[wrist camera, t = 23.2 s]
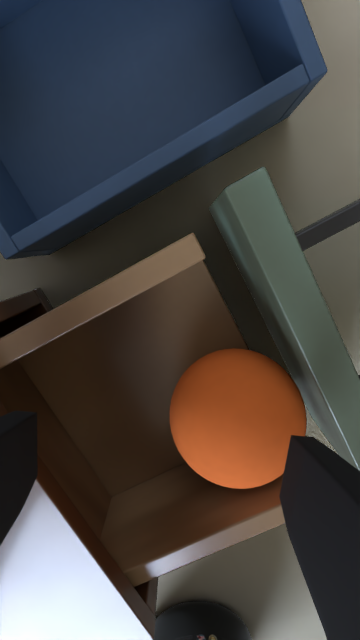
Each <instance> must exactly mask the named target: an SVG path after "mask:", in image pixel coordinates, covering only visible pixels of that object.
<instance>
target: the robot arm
mask: <svg viewBox="0 0 360 640" xmlns="http://www.w3.org/2000/svg"><path fill="white" fill-rule="evenodd" d="M37 476H38V463H37V412H26V411H13V412H11V413H8V414H6V415H3V416H1V417H0V545H1V544H2V542H3V541H4V539H5V537H6V536H7V534H8V532H9V531H10V529H11V527H12V526H13V524H14V522H15V521H16V519H17V517H18V516H19V514H20V512H21V511H22V509H23V506H24V504H25V502H26V500H27V498H28V496H29V494H30V491H31V489H32V487H33V485H34V482H35V480H36V478H37ZM279 497H280V502H281V506H282V511H283V515H284V519H285V523H286V527H287V531H288V534H289V537H290V540H291V543H292V545H293V548H294V551H295V554H296V556H297V559H298V562H299V565H300V567H301V570H302V573H303V575H304V578H305V580H306V583H307V586H308V588H309V591H310V594H311V596H312V599H313V602H314V604H315V607H316V610H317V612H318V615H319V618H320V620H321V623H322V626H323V628H324V631H325V634H326V637H327V640H360V471H359V470H358V469H356V468H355V467H354V466H352V465H351V464H350V463H348V462H347V461H346V460H344V459H343V458H342V457H340V456H339V455H338V454H336V453H335V452H334V451H332V450H331V449H330V448H328V447H327V446H325V445H324V444H323V443H321V442H320V441H318V440H316V439H315V438H313V437H307V436H296V435H291V438H290V443H289V448H288V453H287V458H286V464H285V469H284V474H283V479H282V485H281V490H280V495H279Z"/></svg>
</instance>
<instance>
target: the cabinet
mask: <svg viewBox="0 0 360 640" xmlns="http://www.w3.org/2000/svg"><path fill="white" fill-rule="evenodd" d="M51 310H53V308H52V306H51V305H50V303H49V301H48V300H47V298H46V297H45V295H44V294H43V292H42V290H41V289H40V288H38V289H35V290H33V291H30V292H27V293H24V294H21V295H18V296H15V297H12V298H9V299H6V300H3V301H1V302H0V338H2V337H4V336H6V335H7V334H9V333H11V332H13V331H15V330H17V329H18V328H20V327H22V326H24V325H26V324H27V323H29V322H31V321H33V320H35V319H36V318H38V317H40V316H42V315H44V314H45V313H47V312H49V311H51ZM6 414H8V411H7V410H6V409H5V407H4V406H3V404H2V403H1V402H0V417H1V416H3V415H6ZM37 463H38V476H37V478H36V480H35V482H34V485H33V487H32V489H31V491H30V494H29V496H28V498H27V500H26V502H25V504H24V506H23V509H22V511H21V512H20V514H19V516H18V517H17V519H16V521H15V522H14V524H13V526H12V527H11V529H10V531H9V532H8V534H7V536H6V537H5V539H4V541H3V542H2V544H1V545H0V640H153V639H154V633H155V613H156V600H157V586H158V577H157V578H154V579H152V580H149V581H147V582H145V583H142V584H140V585H138V586H135V587H133V586H132V584H131V583H130V581H129V580H128V579H127V577H126V576H125V574H124V573H123V572H122V570H121V569H120V567H119V566H118V565H117V563H116V562H115V560H114V559H113V558H112V556H111V555H110V553H109V552H108V551H107V549H106V548H105V547H104V545H103V544H102V542H101V541H100V540H99V538H98V537H97V535H96V534H95V533H94V531H93V530H92V528H91V527H90V526H89V524H88V523H87V521H86V520H85V519H84V517H83V516H82V514H81V513H80V512H79V510H78V509H77V508H76V506H75V505H74V503H73V502H72V501H71V499H70V498H69V496H68V495H67V494H66V492H65V491H64V489H63V488H62V487H61V485H60V484H59V482H58V481H57V480H56V478H55V477H54V475H53V474H52V473H51V471H50V470H49V469H48V467H47V466H46V464H45V463H44V462H43V460H42V459H41V457H40V456H39V455H38V453H37Z"/></svg>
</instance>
